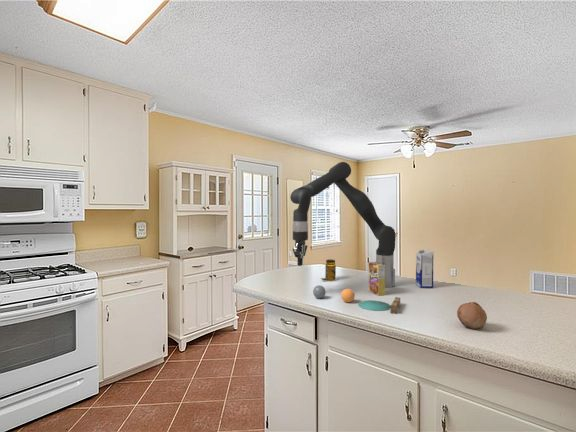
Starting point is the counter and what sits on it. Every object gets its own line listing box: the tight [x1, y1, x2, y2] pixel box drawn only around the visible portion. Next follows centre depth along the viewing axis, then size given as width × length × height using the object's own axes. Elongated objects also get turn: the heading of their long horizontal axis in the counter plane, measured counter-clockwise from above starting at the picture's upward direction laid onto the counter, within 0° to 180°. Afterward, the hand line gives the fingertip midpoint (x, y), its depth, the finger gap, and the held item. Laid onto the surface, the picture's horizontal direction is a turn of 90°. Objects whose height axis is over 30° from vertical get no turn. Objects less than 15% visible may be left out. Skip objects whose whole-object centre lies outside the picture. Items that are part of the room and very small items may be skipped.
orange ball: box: [340, 288, 355, 303], centre depth 147 cm, size 6×6×6 cm
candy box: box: [368, 261, 386, 296], centre depth 161 cm, size 9×4×15 cm, turn 17°
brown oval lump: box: [456, 301, 488, 330], centre depth 116 cm, size 10×9×10 cm
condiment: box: [320, 259, 338, 282], centre depth 191 cm, size 7×8×12 cm
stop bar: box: [390, 296, 401, 315], centre depth 138 cm, size 14×2×3 cm, turn 153°
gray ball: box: [312, 285, 327, 299], centre depth 153 cm, size 6×6×6 cm
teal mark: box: [357, 300, 391, 312], centre depth 142 cm, size 14×14×1 cm
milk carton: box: [415, 249, 435, 289], centre depth 175 cm, size 7×7×20 cm
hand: (300, 265), depth 157 cm, fingers closed
